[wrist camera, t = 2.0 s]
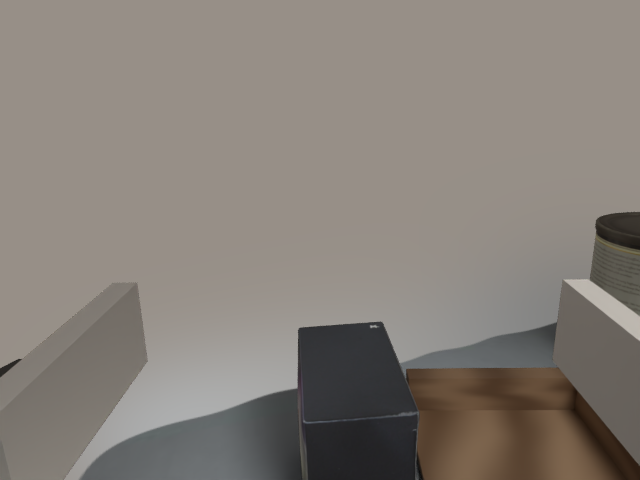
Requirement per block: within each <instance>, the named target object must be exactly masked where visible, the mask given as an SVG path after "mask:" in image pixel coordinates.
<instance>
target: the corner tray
mask: <svg viewBox="0 0 640 480" xmlns="http://www.w3.org/2000/svg"><path fill="white" fill-rule="evenodd" d="M406 380H407V383H408V385H409V388H410V390H411V393H412V395H413V398H414V400H415V403H416V405H417V408H418V410H419V413H420V418H419V427H418V441H417V459H418V464H419V468H420V473H421V477H422V480H640V466H639V464H638V463H637V462H636V461H635V460H634V458H633V457H632V456H631V455H630V454H629V452H628V451H627V450H626V449H625V447H624V446H623V445H622V444H621V443H620V441H619V440H618V439H617V438H616V437H615V435H614V434H613V433H612V432H611V431H610V429H609V428H608V427H607V426H606V424H605V423H604V422H603V421H602V420H601V418H600V417H599V416H598V415H597V414H596V412H595V411H594V410H593V409H592V408H591V406H590V405H589V404H588V403H587V401H586V400H585V399H584V398H583V397H582V395H581V394H580V393H579V392H578V391H577V389H576V388H575V387H574V386H573V385H572V383H571V382H570V381H569V380H568V378H567V377H566V376H565V375H564V374H563V372H562V371H561V370H560V369H559V368H452V369H406Z"/></svg>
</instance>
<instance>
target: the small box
mask: <svg viewBox="0 0 640 480" xmlns="http://www.w3.org/2000/svg"><path fill="white" fill-rule="evenodd" d="M419 418H420V413H419V410H418V408H417V405H416V403H415V400H414V398H413V395H412V393H411V390H410V388H409V385H408V383H407V380H406V378H405V376H404V373H403V371H402V368H401V366H400V363H399V361H398V358H397V356H396V353H395V351H394V349H393V346H392V344H391V341H390V339H389V336H388V334H387V331H386V329H385V327H384V324H383V323H382V322H369V323H357V324H343V325H331V326H317V327H303V328H299V330H298V425H299V444H300V459H301V474H302V480H416V477H417V476H416V466H417V465H416V460H417V441H418V427H419Z"/></svg>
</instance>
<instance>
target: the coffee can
mask: <svg viewBox="0 0 640 480" xmlns="http://www.w3.org/2000/svg"><path fill="white" fill-rule="evenodd" d="M595 227H596V238H595V245H594V252H593V260H592V268H591V274H590V281H591V282H593V283H594V284H596V285H597V286H598V287H600V288H601V289H603V290H604V291H605V292H607V293H608V294H609V295H611V296H612V297H614V298H615V299H616V300H618V301H619V302H621V303H622V304H623V305H625V306H626V307H628V308H629V309H630V310H632V311H633V312H634V313H636V314H637V315H639V316H640V212H627V213H615V214H609V215H604V216H601V217H599V218H598V219H597V220H596V226H595Z"/></svg>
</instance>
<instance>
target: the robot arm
mask: <svg viewBox="0 0 640 480" xmlns="http://www.w3.org/2000/svg"><path fill="white" fill-rule="evenodd" d="M552 360H553V362H554V363H555V364H556V365H557V366H558V368H559V369H560V370H561V371H562V372H563V374H564V375H565V376H566V377H567V378H568V380H569V381H570V382H571V383H572V385H573V386H574V387H575V388H576V389H577V391H578V392H579V393H580V394H581V395H582V397H583V398H584V399H585V400H586V401H587V403H588V404H589V405H590V406H591V408H592V409H593V410H594V411H595V412H596V414H597V415H598V416H599V417H600V418H601V420H602V421H603V422H604V423H605V424H606V426H607V427H608V428H609V429H610V431H611V432H612V433H613V434H614V435H615V437H616V438H617V439H618V440H619V441H620V443H621V444H622V445H623V446H624V447H625V449H626V450H627V451H628V452H629V454H630V455H631V456H632V457H633V458H634V460H635V461H636V462H637V463H638V464H639V466H640V316H639V315H637V314H636V313H634V312H633V311H632V310H630V309H629V308H628V307H626V306H625V305H623V304H622V303H621V302H619V301H618V300H616V299H615V298H614V297H612V296H611V295H609V294H608V293H607V292H605V291H604V290H603V289H601V288H600V287H598V286H597V285H596V284H594V283H593V282H591V281H590V280H588V279H577V280H576V279H572V280H571V279H567V280H566V279H565V280H563V282H562V290H561V298H560V305H559V313H558V321H557V328H556V336H555V344H554V351H553V359H552ZM146 362H147V353H146V346H145V339H144V332H143V323H142V316H141V309H140V302H139V293H138V286H137V283H112V284H111V285H110V286H109V287H108V288H106V289H105V290H104V291H103V292H102V293H100V294H99V295H98V296H97V297H96V298H94V299H93V300H92V301H91V302H90V303H89V304H87V305H86V306H85V307H84V308H83V309H81V310H80V311H79V312H78V313H77V314H75V315H74V316H73V317H72V318H71V319H69V320H68V321H67V322H66V323H65V324H63V325H62V326H61V327H60V328H59V329H58V330H56V331H55V332H54V333H53V334H52V335H50V336H49V337H48V338H47V339H46V340H45V341H43V342H42V343H41V344H40V345H39V346H37V347H36V348H35V349H34V350H33V351H31V352H30V353H29V354H28V355H27V356H25V357H24V358H23V359H18V360H16V361H14V362H12V363H10V364H8V365H6V366H4V367H2V368H0V480H64V478H65V477H66V475H67V474H68V473H69V471H70V470H71V468H72V467H73V466H74V464H75V462H76V461H77V460H78V458H79V457H80V456H81V454H82V453H83V451H84V450H85V449H86V447H87V446H88V444H89V443H90V442H91V440H92V439H93V437H94V436H95V435H96V433H97V432H98V430H99V429H100V427H101V426H102V425H103V423H104V422H105V420H106V419H107V417H108V416H109V415H110V413H111V412H112V411H113V409H114V408H115V406H116V405H117V403H118V402H119V401H120V399H121V398H122V396H123V395H124V393H125V392H126V391H127V389H128V388H129V386H130V385H131V384H132V382H133V381H134V379H135V378H136V377H137V375H138V374H139V372H140V371H141V370H142V368H143V367H144V365H145V364H146Z"/></svg>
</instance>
